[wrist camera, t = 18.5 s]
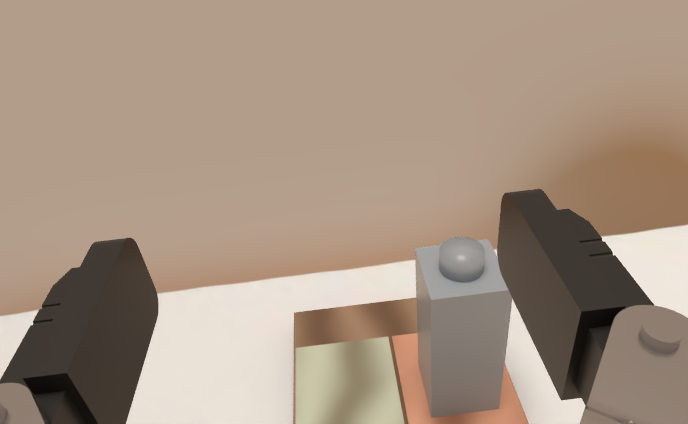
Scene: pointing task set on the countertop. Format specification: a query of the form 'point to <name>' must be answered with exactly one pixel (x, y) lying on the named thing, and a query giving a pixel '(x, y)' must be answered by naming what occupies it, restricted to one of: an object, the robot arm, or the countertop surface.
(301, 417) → the walnut board
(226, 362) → the countertop surface
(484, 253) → the slate brick
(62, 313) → the robot arm
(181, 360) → the countertop surface
